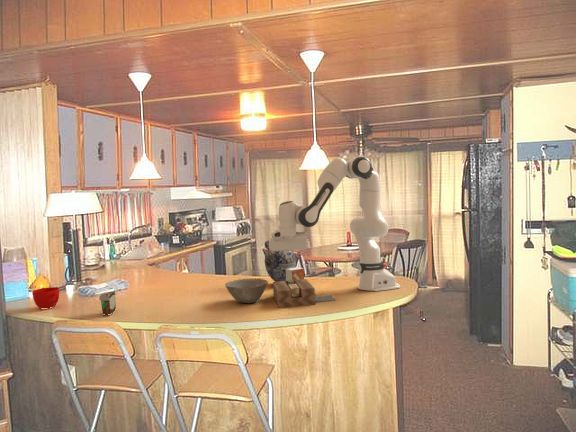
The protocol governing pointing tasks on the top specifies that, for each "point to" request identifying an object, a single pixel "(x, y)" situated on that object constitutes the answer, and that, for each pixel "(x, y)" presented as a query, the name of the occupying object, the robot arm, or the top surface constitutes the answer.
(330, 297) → the slate mat
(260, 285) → the ceramic bowl
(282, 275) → the decorative vase
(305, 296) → the walnut channel block
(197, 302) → the top surface
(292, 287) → the beech bar
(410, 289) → the top surface
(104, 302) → the food container
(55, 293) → the ceramic cup
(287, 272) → the small box
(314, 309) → the top surface
